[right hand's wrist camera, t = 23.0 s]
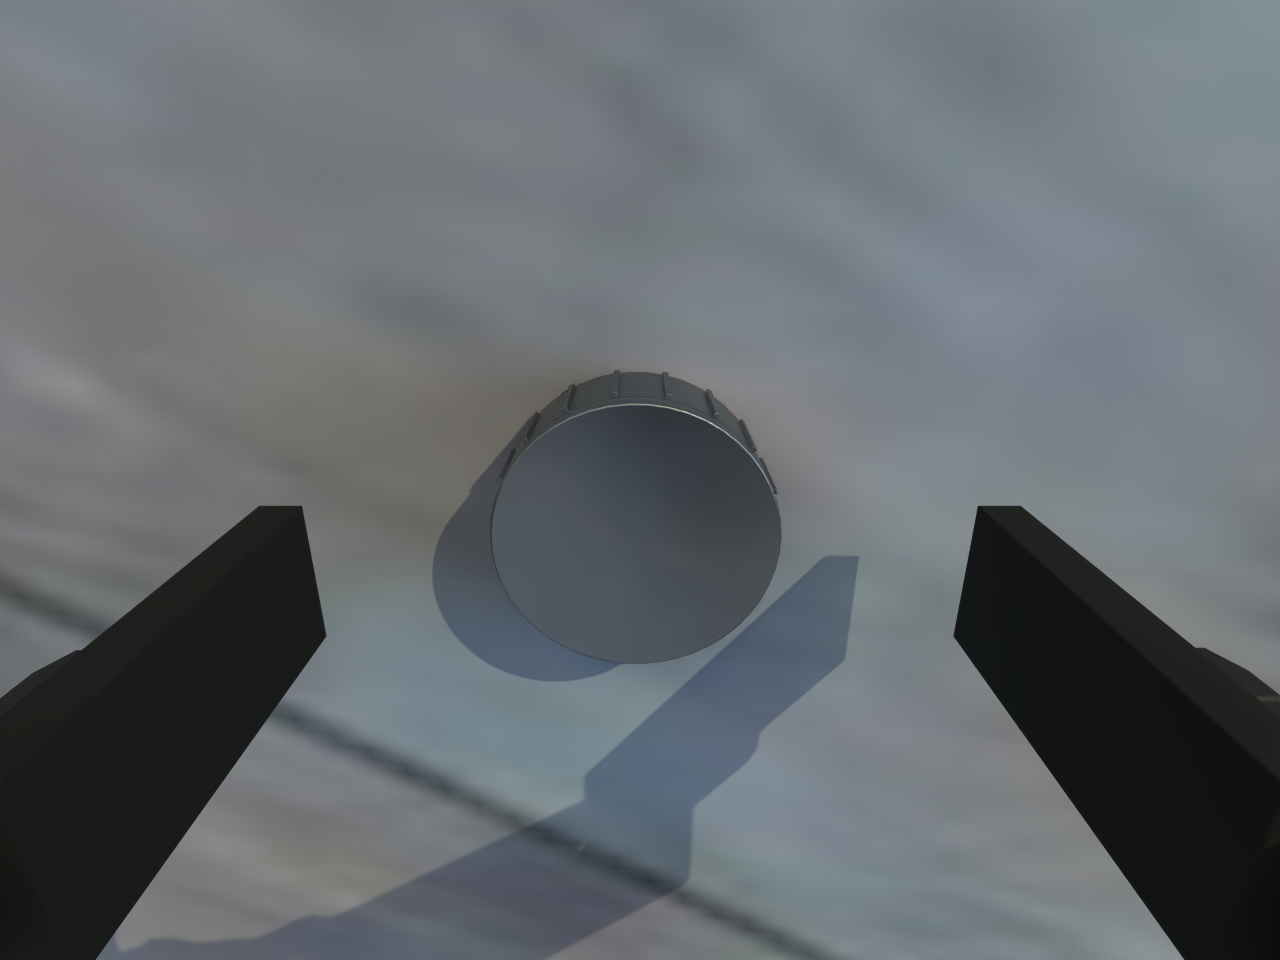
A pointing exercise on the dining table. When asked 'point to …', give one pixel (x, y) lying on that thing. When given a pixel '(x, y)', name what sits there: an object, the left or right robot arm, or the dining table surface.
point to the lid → (635, 520)
